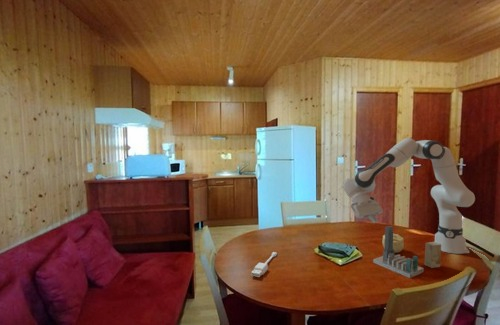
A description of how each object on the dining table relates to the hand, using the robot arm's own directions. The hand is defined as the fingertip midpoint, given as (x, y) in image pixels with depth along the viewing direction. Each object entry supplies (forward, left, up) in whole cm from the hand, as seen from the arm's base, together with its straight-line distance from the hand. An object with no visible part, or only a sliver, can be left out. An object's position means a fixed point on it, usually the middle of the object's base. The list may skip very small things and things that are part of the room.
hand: (376, 222), depth 151 cm
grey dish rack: (+5, +12, -21) cm, 25 cm away
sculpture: (-18, +6, -21) cm, 28 cm away
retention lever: (+3, +8, -14) cm, 17 cm away
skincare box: (-8, +27, -21) cm, 35 cm away
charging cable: (+45, -45, -21) cm, 67 cm away
